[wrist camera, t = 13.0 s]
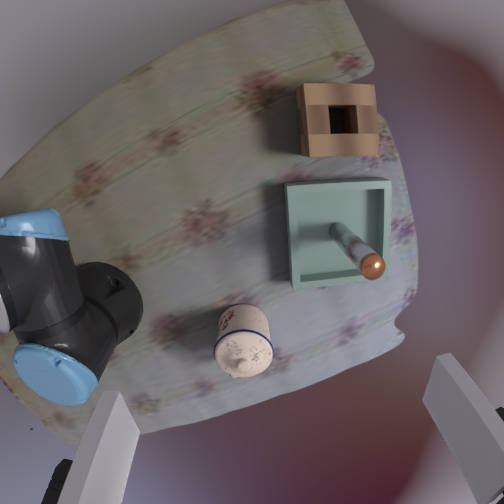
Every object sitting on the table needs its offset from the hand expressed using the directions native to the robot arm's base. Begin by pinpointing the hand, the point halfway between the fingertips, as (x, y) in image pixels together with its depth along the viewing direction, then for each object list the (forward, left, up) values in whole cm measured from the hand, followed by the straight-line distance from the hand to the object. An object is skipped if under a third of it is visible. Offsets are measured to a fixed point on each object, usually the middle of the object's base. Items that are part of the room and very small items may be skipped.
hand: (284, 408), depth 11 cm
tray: (+13, -5, -39) cm, 41 cm away
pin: (+13, -5, -38) cm, 40 cm away
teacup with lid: (-4, -22, -39) cm, 45 cm away
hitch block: (+13, +12, -39) cm, 42 cm away
